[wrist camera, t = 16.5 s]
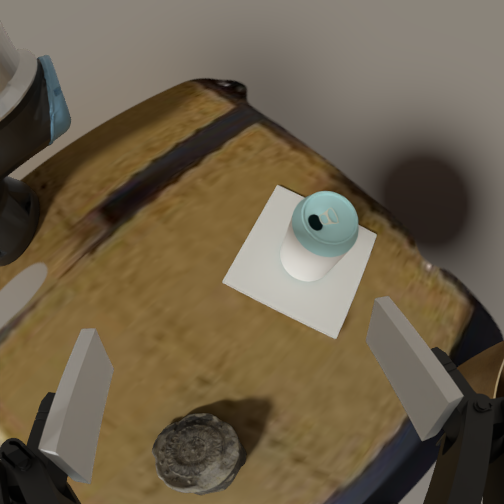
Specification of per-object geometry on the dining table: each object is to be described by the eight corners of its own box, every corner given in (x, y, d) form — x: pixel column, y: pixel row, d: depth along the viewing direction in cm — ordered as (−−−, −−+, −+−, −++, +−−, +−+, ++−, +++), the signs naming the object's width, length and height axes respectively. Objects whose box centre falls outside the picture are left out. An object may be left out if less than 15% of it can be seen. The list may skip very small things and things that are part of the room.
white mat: (222, 282, 39) (222, 281, 39) (277, 187, 44) (277, 184, 44) (334, 338, 37) (336, 338, 37) (375, 236, 42) (376, 234, 42)
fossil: (196, 391, 34) (224, 431, 25) (245, 427, 36) (282, 466, 27) (140, 447, 31) (152, 497, 22) (193, 477, 33) (217, 524, 24)
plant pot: (494, 398, 34) (565, 397, 19) (433, 457, 31) (504, 481, 16) (467, 325, 38) (542, 303, 23) (401, 381, 36) (478, 382, 20)
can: (315, 293, 39) (346, 264, 27) (269, 264, 40) (281, 224, 28) (340, 249, 41) (374, 209, 30) (296, 222, 42) (315, 173, 31)
